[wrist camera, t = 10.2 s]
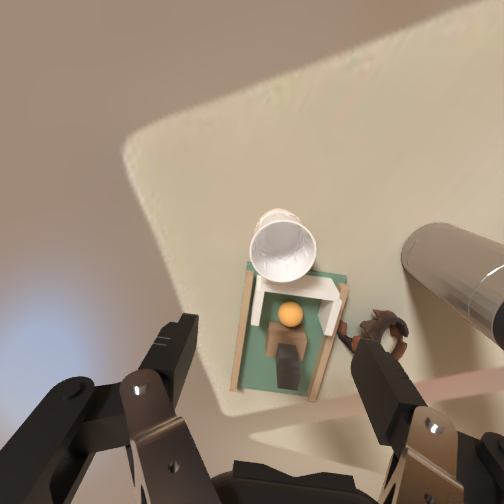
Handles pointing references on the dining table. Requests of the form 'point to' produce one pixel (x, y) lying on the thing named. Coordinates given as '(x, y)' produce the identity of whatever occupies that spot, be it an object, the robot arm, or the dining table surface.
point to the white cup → (282, 247)
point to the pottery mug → (378, 331)
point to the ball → (290, 314)
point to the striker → (286, 352)
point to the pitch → (266, 309)
